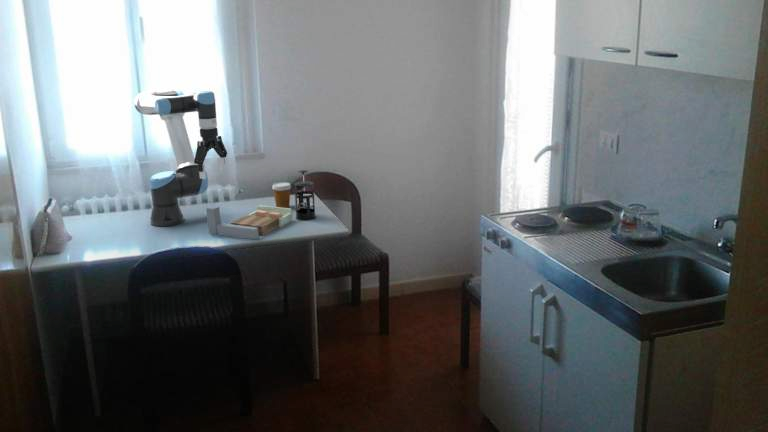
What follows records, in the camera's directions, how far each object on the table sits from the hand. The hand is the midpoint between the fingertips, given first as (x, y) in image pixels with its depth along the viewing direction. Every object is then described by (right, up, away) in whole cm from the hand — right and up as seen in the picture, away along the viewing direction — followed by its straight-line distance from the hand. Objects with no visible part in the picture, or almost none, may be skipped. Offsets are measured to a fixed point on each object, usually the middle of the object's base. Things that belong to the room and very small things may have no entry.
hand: (212, 175), depth 317 cm
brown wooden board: (+17, -24, +9) cm, 31 cm away
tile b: (+25, -20, +12) cm, 34 cm away
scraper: (+9, -27, +1) cm, 28 cm away
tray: (+23, -21, +19) cm, 36 cm away
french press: (+38, -19, +25) cm, 49 cm away
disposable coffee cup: (+25, -14, +41) cm, 51 cm away
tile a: (+18, -19, +15) cm, 30 cm away
